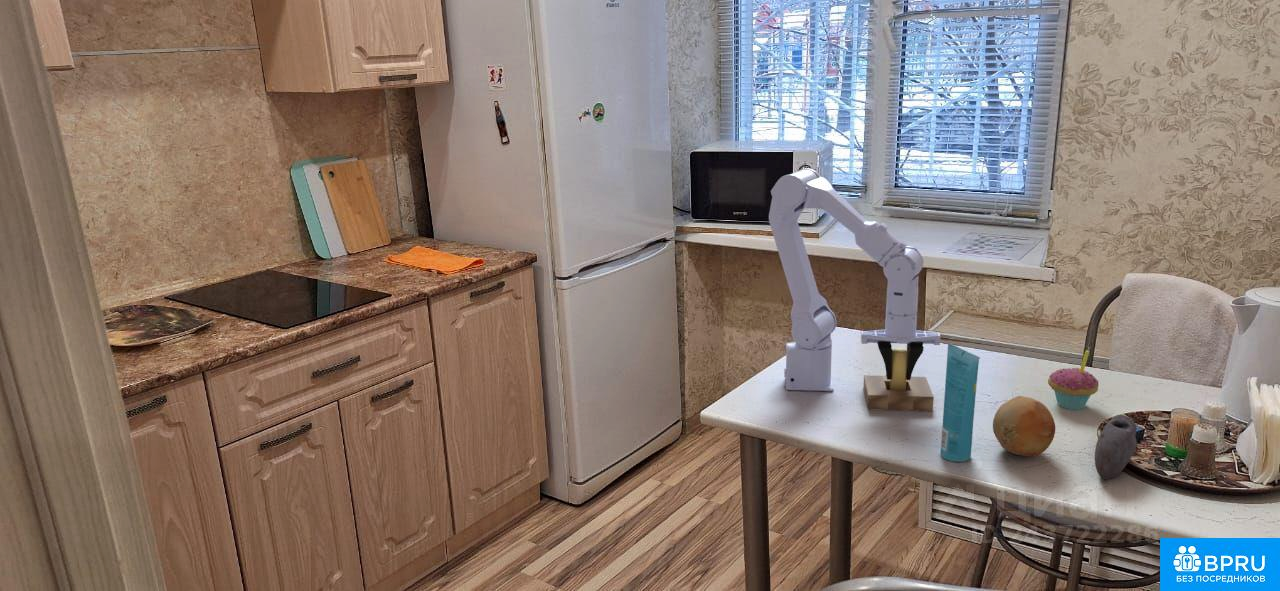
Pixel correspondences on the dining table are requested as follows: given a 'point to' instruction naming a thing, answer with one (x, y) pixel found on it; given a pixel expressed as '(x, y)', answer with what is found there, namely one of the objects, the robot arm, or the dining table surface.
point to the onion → (1024, 426)
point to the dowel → (898, 369)
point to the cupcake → (1073, 386)
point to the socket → (898, 394)
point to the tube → (959, 404)
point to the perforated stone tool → (1115, 446)
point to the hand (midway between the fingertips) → (898, 378)
